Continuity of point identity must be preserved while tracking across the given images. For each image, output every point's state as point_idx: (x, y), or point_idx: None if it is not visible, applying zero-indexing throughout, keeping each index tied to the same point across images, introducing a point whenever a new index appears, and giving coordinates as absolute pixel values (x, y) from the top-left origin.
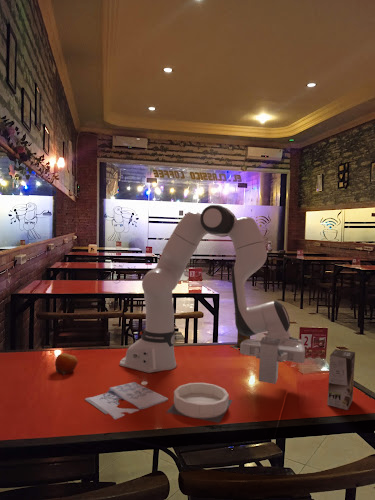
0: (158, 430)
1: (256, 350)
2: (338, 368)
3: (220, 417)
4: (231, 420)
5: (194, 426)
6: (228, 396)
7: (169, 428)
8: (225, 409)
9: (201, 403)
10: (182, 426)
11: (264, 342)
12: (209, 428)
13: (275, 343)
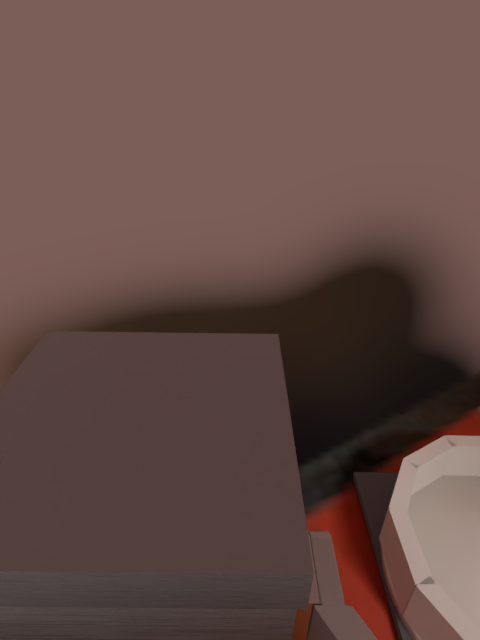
0: (475, 399)
1: (367, 633)
2: None
3: (373, 510)
4: (330, 527)
5: (414, 445)
6: (411, 583)
7: (462, 415)
8: (384, 557)
9: (449, 447)
10: (443, 434)
11: (222, 341)
12: (368, 449)
13: (80, 333)
